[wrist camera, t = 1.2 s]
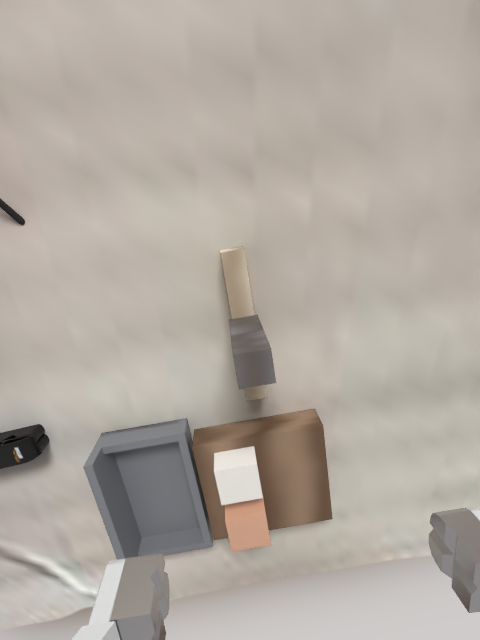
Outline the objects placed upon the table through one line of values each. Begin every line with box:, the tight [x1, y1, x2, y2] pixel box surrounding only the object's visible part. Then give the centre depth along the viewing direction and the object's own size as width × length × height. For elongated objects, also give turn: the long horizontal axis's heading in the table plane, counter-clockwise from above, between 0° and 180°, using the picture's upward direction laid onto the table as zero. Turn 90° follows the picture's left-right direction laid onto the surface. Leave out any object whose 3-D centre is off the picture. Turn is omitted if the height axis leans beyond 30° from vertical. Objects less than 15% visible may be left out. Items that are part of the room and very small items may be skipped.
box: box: [84, 418, 213, 559], centre depth 35 cm, size 9×15×5 cm, turn 9°
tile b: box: [225, 494, 271, 552], centre depth 34 cm, size 4×4×2 cm
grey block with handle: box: [220, 247, 276, 401], centre depth 27 cm, size 2×14×11 cm, turn 9°
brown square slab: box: [192, 409, 332, 540], centre depth 36 cm, size 13×12×3 cm
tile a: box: [214, 446, 263, 505], centre depth 32 cm, size 4×4×2 cm
